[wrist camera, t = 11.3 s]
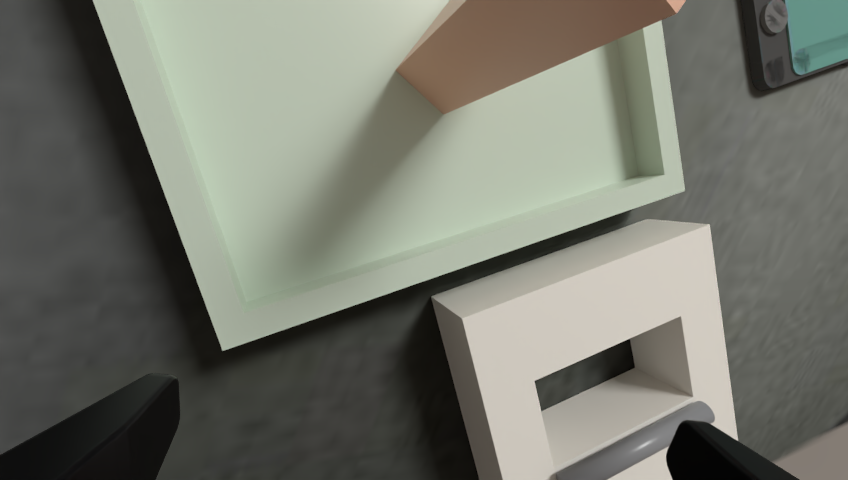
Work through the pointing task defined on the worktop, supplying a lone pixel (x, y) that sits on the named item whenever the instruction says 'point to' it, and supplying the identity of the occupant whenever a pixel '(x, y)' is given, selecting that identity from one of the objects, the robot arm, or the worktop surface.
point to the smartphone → (794, 38)
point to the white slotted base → (585, 336)
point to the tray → (370, 149)
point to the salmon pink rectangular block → (515, 42)
